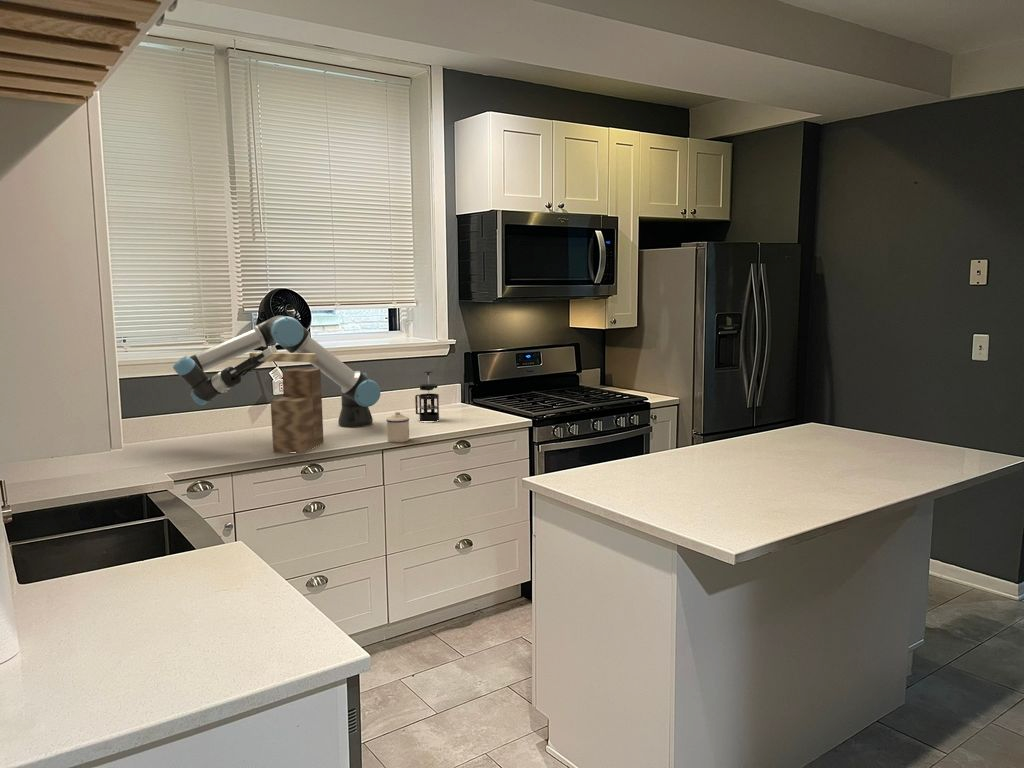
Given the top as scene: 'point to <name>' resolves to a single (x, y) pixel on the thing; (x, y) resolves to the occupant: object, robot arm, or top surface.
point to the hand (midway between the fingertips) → (273, 349)
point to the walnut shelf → (298, 412)
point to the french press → (426, 415)
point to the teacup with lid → (398, 428)
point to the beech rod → (289, 357)
